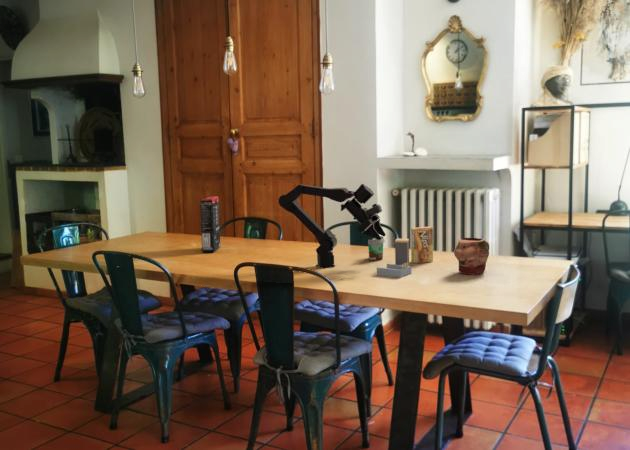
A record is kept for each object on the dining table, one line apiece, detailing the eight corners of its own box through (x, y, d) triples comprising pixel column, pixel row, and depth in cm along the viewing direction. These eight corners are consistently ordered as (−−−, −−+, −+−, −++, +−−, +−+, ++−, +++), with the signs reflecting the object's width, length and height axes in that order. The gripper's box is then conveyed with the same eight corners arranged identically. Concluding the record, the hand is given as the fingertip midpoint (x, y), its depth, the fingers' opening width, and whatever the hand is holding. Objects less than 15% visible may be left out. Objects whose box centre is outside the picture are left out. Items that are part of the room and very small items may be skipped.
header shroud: (377, 275, 270) (376, 263, 269) (388, 270, 277) (387, 259, 276) (400, 277, 263) (400, 265, 263) (411, 273, 271) (411, 261, 270)
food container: (381, 262, 295) (381, 240, 294) (368, 261, 297) (367, 239, 296) (387, 257, 307) (387, 235, 305) (374, 256, 309) (374, 235, 307)
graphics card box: (208, 247, 350) (205, 196, 346) (221, 247, 350) (218, 195, 346) (201, 253, 333) (198, 199, 329) (215, 253, 333) (212, 199, 329)
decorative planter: (473, 266, 281) (473, 233, 279) (499, 269, 272) (499, 236, 270) (446, 274, 267) (446, 240, 265) (473, 278, 258) (473, 243, 256)
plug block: (395, 269, 279) (394, 240, 277) (397, 267, 284) (397, 238, 282) (407, 269, 278) (406, 240, 276) (409, 267, 282) (408, 238, 280)
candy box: (429, 260, 296) (429, 226, 294) (433, 261, 292) (433, 227, 290) (411, 261, 294) (410, 227, 292) (414, 263, 290) (414, 228, 288)
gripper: (365, 200, 271) (392, 228, 270) (375, 195, 289) (400, 221, 287) (347, 219, 275) (373, 246, 273) (357, 213, 292) (382, 238, 291)
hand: (382, 237), depth 281 cm, fingers open, 9 cm apart
